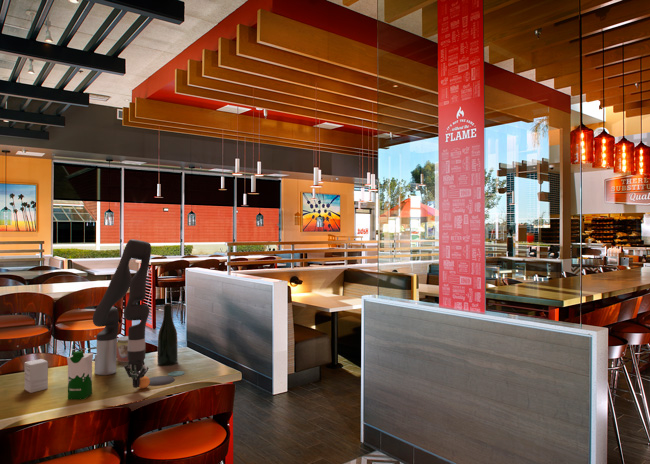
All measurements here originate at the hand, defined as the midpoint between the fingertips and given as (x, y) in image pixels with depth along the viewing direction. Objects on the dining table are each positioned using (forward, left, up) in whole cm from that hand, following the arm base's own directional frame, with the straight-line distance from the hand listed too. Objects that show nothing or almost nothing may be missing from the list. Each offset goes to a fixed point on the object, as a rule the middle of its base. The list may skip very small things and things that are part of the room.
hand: (136, 387), depth 205 cm
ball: (+2, +4, +1) cm, 4 cm away
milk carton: (-20, -10, -2) cm, 23 cm away
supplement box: (-46, -4, -2) cm, 46 cm away
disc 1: (+4, +14, -2) cm, 15 cm away
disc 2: (+7, +26, -2) cm, 27 cm away
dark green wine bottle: (-6, +43, -2) cm, 43 cm away
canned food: (-32, +48, -2) cm, 58 cm away
